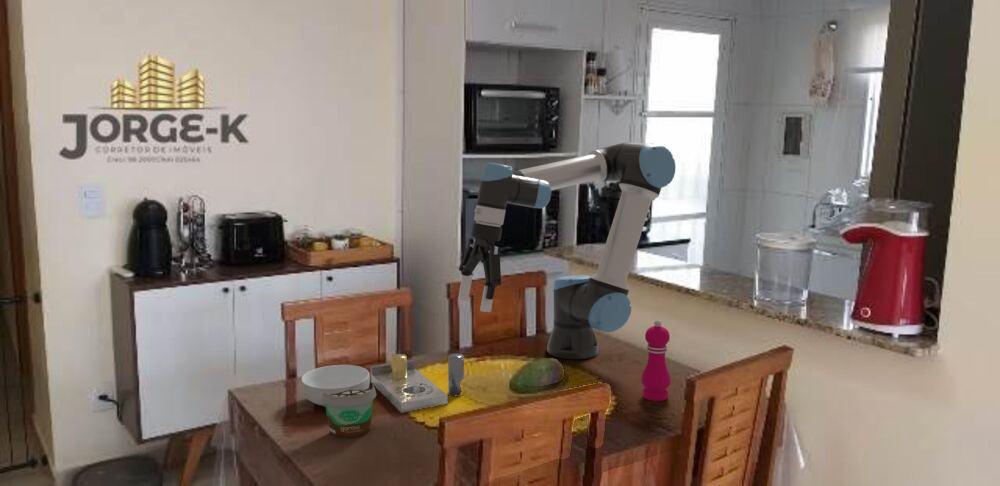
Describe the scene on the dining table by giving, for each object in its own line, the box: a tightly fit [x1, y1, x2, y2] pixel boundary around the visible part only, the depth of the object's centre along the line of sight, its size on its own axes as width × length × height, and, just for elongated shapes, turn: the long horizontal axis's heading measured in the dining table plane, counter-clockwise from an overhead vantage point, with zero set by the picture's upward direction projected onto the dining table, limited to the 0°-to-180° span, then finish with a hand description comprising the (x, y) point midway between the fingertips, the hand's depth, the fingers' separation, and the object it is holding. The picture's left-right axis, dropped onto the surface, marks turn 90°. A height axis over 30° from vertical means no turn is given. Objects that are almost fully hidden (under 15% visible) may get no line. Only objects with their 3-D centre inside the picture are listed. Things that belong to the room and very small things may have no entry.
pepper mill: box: [640, 319, 671, 402], centre depth 200 cm, size 7×7×20 cm
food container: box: [322, 384, 377, 439], centre depth 178 cm, size 12×6×10 cm, turn 114°
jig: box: [369, 353, 449, 414], centre depth 204 cm, size 12×24×8 cm, turn 27°
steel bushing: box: [447, 353, 465, 397], centre depth 203 cm, size 4×4×10 cm
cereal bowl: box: [300, 364, 371, 408], centre depth 198 cm, size 17×17×7 cm
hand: (473, 305), depth 204 cm, fingers open, 13 cm apart
